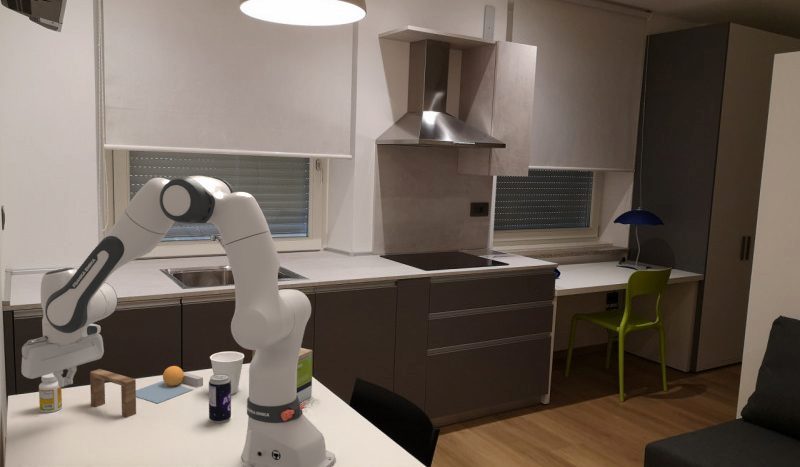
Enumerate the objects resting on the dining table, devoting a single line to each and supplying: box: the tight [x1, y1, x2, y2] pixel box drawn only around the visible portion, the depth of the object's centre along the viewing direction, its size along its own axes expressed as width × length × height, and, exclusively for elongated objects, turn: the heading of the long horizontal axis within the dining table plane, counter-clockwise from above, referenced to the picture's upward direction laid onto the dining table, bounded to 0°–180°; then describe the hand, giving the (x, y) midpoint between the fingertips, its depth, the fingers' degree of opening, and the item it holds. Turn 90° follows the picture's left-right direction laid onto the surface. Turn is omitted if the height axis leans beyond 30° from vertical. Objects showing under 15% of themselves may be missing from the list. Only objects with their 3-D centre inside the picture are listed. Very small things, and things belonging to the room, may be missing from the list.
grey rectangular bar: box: [180, 371, 204, 388], centre depth 201 cm, size 12×2×2 cm, turn 61°
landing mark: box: [136, 380, 194, 404], centre depth 193 cm, size 13×13×1 cm
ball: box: [162, 365, 184, 386], centre depth 198 cm, size 6×6×6 cm
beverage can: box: [208, 374, 232, 424], centre depth 174 cm, size 6×6×12 cm
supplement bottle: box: [38, 373, 63, 414], centre depth 178 cm, size 5×5×10 cm
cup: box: [209, 351, 245, 396], centre depth 194 cm, size 10×10×11 cm
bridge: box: [89, 368, 137, 418], centre depth 179 cm, size 15×3×10 cm, turn 61°
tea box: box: [251, 347, 313, 404], centre depth 191 cm, size 15×10×15 cm, turn 62°
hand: (65, 385), depth 165 cm, fingers closed
